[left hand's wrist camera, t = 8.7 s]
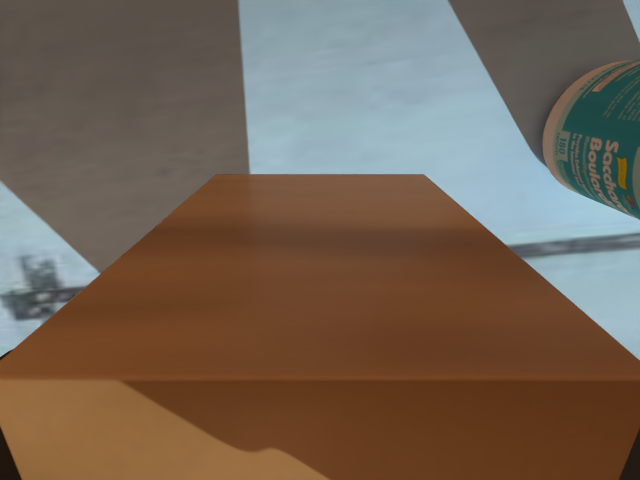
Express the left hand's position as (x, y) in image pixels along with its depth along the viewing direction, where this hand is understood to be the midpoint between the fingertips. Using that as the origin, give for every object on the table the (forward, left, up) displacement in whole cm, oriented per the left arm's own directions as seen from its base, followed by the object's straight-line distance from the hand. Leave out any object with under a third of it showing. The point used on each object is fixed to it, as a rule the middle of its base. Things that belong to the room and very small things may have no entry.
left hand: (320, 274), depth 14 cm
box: (+8, +2, -1) cm, 9 cm away
